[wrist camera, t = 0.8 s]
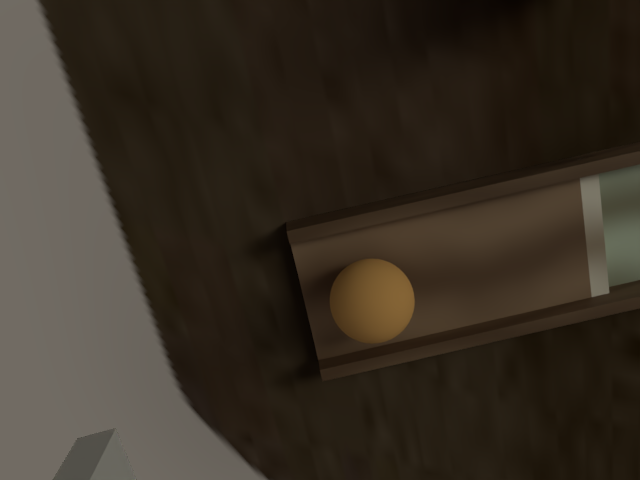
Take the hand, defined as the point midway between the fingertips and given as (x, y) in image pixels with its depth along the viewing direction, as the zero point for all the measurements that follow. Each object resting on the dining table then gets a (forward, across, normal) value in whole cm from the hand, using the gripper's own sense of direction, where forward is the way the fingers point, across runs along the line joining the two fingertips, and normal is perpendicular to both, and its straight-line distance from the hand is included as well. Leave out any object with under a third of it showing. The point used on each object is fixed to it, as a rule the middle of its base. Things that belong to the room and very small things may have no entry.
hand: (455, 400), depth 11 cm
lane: (+25, +14, -7) cm, 30 cm away
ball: (+21, 0, -6) cm, 22 cm away
